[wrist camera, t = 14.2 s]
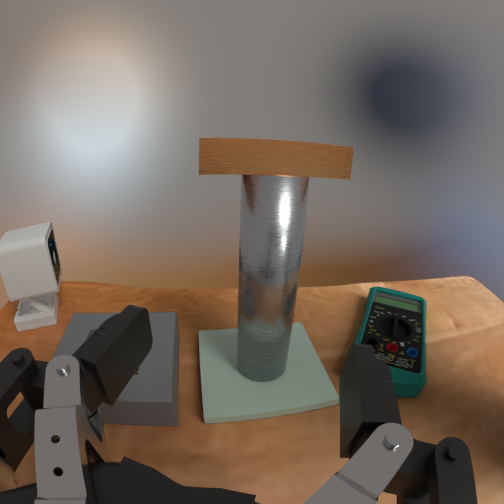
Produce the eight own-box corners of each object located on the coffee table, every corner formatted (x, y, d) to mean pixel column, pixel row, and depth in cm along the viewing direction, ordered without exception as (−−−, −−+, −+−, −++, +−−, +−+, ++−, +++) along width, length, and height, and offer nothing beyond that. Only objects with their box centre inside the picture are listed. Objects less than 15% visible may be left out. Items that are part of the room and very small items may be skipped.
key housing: (179, 337, 27) (175, 311, 25) (178, 425, 17) (171, 401, 16) (82, 336, 25) (74, 312, 24) (54, 415, 16) (38, 391, 15)
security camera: (69, 323, 26) (44, 237, 22) (16, 334, 23) (-13, 250, 19) (69, 295, 31) (52, 219, 27) (23, 305, 28) (2, 231, 24)
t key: (305, 343, 25) (332, 144, 19) (321, 373, 22) (361, 149, 15) (204, 352, 24) (199, 137, 17) (207, 386, 20) (199, 138, 14)
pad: (300, 328, 29) (301, 322, 28) (337, 404, 20) (339, 398, 19) (199, 336, 27) (198, 330, 27) (204, 423, 18) (204, 417, 18)
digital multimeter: (336, 386, 22) (344, 362, 21) (366, 301, 34) (372, 281, 33) (415, 407, 19) (429, 384, 18) (420, 315, 31) (428, 295, 30)
